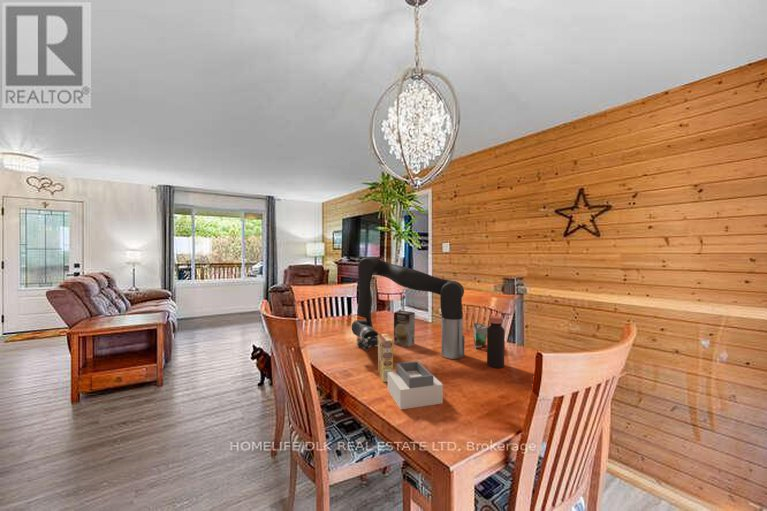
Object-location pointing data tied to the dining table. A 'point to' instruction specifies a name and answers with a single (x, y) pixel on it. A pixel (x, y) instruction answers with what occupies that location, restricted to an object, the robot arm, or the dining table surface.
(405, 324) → the coffee box
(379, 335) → the candy box
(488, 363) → the bottle
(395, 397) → the stand
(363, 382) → the dining table surface
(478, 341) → the food container
